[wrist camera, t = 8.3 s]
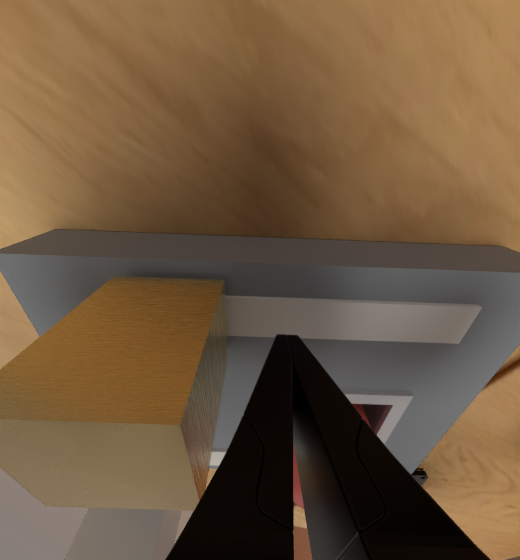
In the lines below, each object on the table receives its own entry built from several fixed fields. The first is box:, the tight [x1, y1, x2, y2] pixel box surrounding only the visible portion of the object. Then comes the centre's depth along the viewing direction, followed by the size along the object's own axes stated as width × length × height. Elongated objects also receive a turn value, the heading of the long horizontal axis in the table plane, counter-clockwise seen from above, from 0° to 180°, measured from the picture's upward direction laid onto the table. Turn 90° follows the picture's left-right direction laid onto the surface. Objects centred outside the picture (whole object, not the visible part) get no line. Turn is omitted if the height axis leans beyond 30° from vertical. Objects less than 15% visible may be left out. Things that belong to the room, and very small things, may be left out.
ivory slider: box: [64, 508, 182, 560], centre depth 13 cm, size 4×4×5 cm
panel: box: [0, 229, 520, 474], centre depth 14 cm, size 17×22×3 cm
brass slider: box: [0, 276, 228, 510], centre depth 7 cm, size 4×4×5 cm
